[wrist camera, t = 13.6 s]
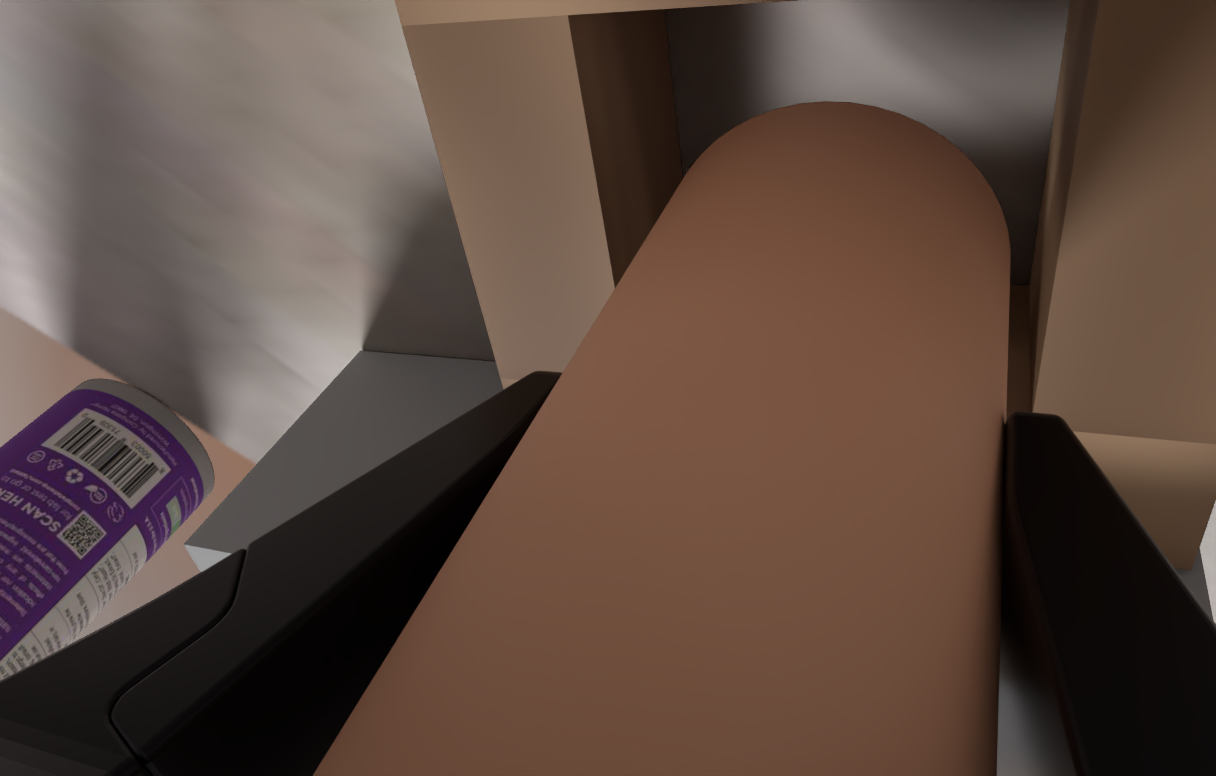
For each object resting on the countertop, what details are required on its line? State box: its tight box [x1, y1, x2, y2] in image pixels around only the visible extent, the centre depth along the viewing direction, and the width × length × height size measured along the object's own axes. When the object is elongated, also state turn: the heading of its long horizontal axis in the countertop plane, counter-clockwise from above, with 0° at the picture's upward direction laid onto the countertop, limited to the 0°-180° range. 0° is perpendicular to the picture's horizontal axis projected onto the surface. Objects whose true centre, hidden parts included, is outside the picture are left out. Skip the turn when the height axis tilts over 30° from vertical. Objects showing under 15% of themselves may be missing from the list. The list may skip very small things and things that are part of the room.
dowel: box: [313, 101, 1011, 776], centre depth 8 cm, size 4×4×8 cm
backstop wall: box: [184, 351, 1213, 620], centre depth 16 cm, size 16×2×6 cm, turn 99°
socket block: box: [395, 0, 1216, 571], centre depth 12 cm, size 10×10×4 cm
